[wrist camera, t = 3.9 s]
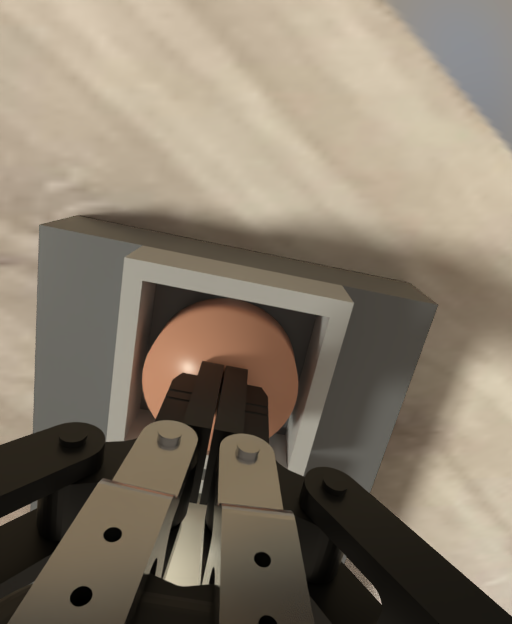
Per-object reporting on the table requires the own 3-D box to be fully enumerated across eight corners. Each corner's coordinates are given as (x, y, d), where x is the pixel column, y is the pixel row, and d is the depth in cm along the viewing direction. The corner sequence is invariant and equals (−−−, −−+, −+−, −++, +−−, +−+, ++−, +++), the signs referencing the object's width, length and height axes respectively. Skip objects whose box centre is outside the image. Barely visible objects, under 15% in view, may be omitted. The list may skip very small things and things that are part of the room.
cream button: (133, 480, 16) (120, 511, 14) (264, 503, 16) (264, 536, 14) (120, 577, 17) (107, 614, 16) (239, 596, 17) (238, 634, 16)
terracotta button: (163, 284, 14) (151, 298, 12) (309, 313, 14) (315, 330, 13) (146, 412, 15) (134, 437, 14) (278, 436, 16) (279, 463, 14)
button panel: (77, 215, 17) (4, 233, 12) (409, 283, 18) (464, 324, 13) (54, 599, 24) (2, 705, 19) (292, 636, 25) (299, 747, 20)
